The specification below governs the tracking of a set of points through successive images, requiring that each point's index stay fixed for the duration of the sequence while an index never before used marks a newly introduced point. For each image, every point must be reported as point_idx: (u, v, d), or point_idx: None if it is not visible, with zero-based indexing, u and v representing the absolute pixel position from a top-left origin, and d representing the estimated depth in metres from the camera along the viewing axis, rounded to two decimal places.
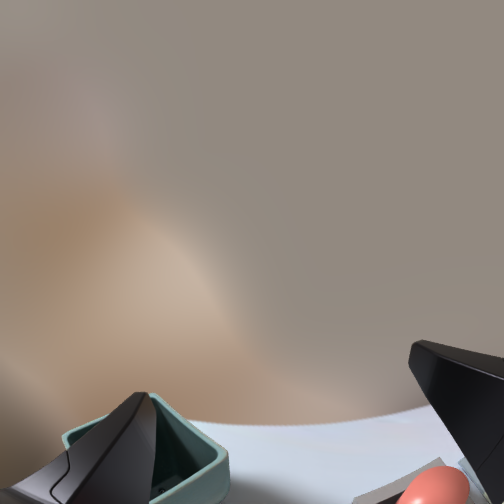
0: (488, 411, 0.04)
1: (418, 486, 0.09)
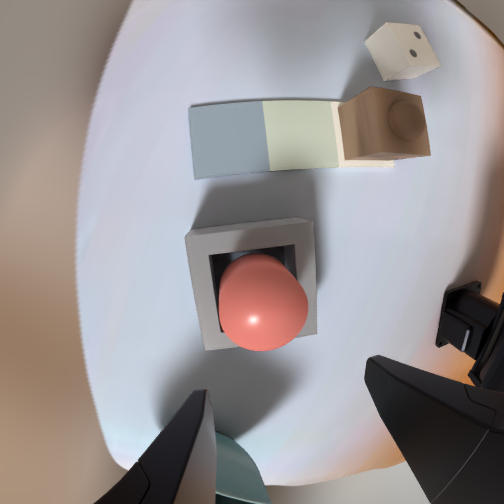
0: (442, 443, 0.04)
1: (239, 332, 0.13)
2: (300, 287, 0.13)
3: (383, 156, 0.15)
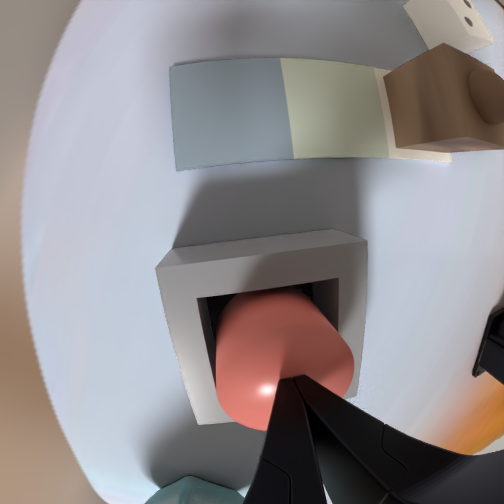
0: (349, 486, 0.04)
1: (249, 412, 0.08)
2: (346, 347, 0.08)
3: (454, 145, 0.09)
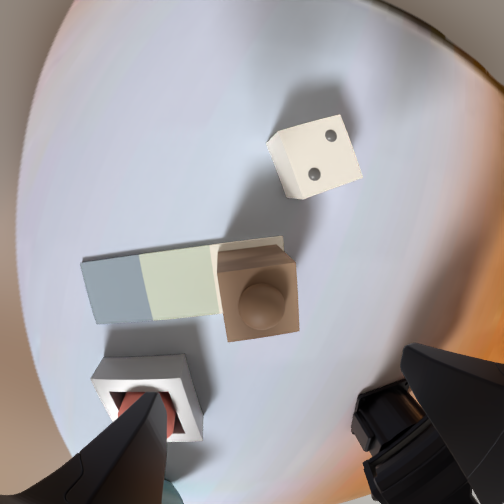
0: (480, 417, 0.04)
1: None
2: None
3: None
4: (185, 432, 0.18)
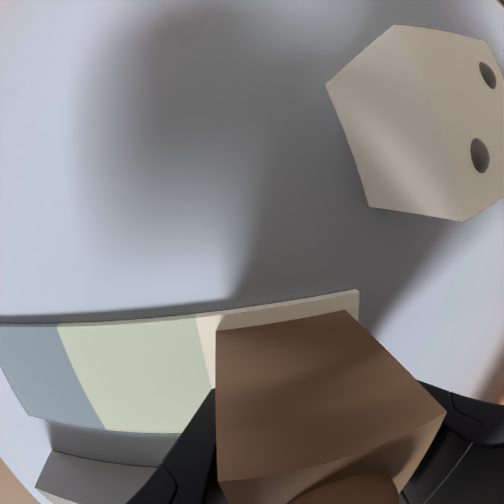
0: (425, 453, 0.04)
1: None
2: None
3: None
4: None
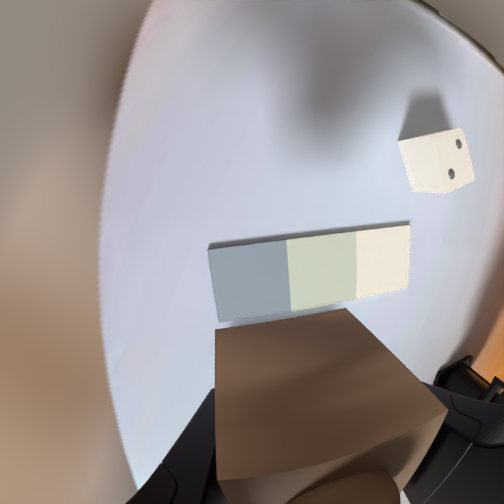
0: None
1: None
2: None
3: None
4: None
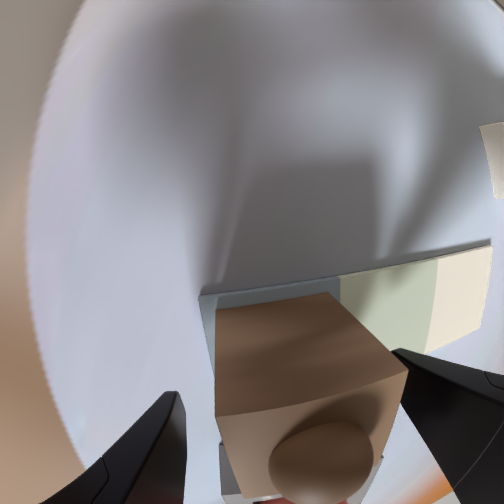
0: (465, 427, 0.04)
1: None
2: None
3: None
4: None
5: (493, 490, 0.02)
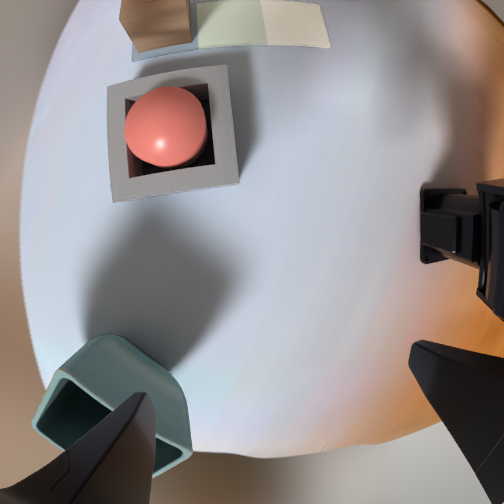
0: (488, 410, 0.04)
1: (140, 143, 0.13)
2: (196, 99, 0.12)
3: (151, 29, 0.12)
4: (215, 162, 0.14)
5: None
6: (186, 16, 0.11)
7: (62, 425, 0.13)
